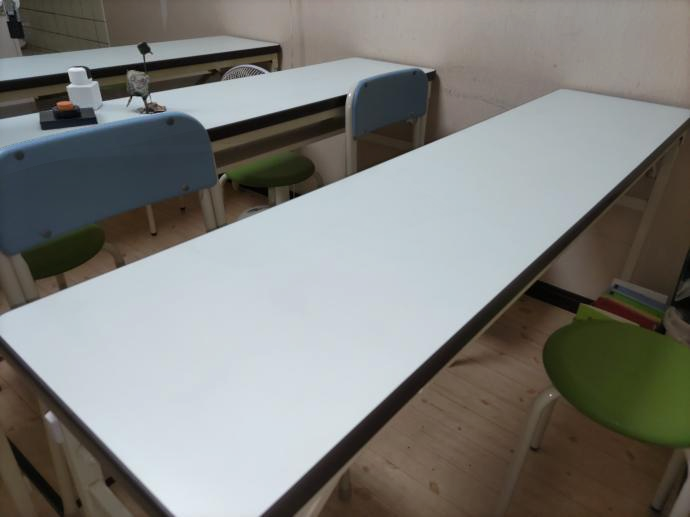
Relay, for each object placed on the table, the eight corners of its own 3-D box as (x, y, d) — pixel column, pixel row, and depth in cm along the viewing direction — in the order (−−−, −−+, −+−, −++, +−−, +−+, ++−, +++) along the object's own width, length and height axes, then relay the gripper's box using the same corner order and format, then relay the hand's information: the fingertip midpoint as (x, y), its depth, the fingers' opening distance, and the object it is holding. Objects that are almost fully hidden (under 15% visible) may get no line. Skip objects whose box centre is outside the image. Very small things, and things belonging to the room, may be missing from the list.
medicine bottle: (79, 104, 160) (69, 64, 154) (103, 104, 161) (94, 64, 155) (72, 110, 154) (61, 69, 148) (96, 110, 155) (86, 69, 149)
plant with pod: (131, 108, 159) (117, 39, 148) (169, 107, 160) (157, 39, 150) (125, 116, 152) (110, 44, 142) (165, 115, 153) (152, 43, 143)
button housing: (41, 129, 138) (37, 115, 136) (41, 119, 146) (37, 105, 144) (97, 124, 144) (94, 110, 141) (94, 114, 152) (91, 101, 150)
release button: (58, 111, 141) (56, 105, 140) (57, 108, 144) (56, 101, 143) (74, 110, 142) (73, 104, 141) (73, 106, 145) (72, 100, 144)
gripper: (-19, -47, 125) (2, 34, 134) (-24, -46, 114) (-1, 42, 123) (16, -45, 128) (34, 34, 138) (15, -43, 117) (35, 42, 126)
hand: (17, 38), depth 130 cm, fingers closed
